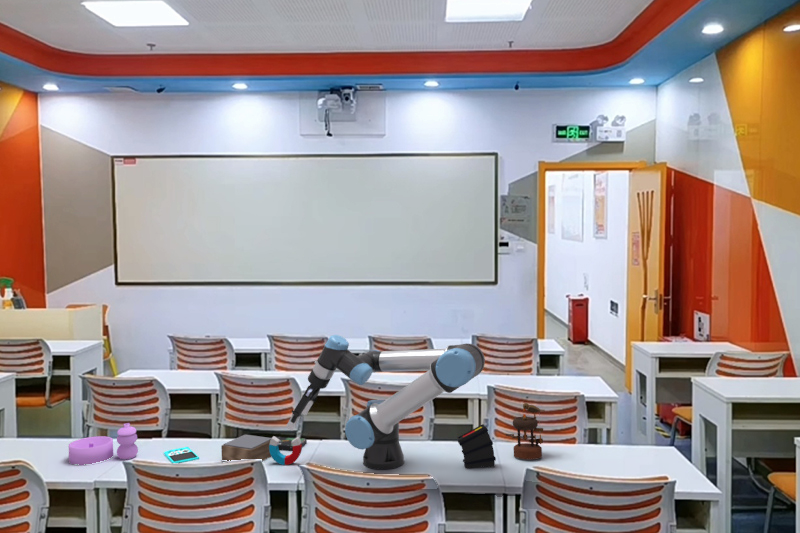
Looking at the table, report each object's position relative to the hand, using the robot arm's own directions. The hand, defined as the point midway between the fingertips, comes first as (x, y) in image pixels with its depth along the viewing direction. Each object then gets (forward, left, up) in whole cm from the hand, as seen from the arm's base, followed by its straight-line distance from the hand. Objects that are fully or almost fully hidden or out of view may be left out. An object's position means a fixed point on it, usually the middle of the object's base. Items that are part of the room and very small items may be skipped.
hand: (296, 420), depth 233 cm
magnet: (+4, +1, -16) cm, 17 cm away
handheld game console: (+47, +9, -17) cm, 51 cm away
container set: (+73, +23, -16) cm, 78 cm away
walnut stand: (+21, +1, -16) cm, 27 cm away
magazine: (-62, -23, -16) cm, 68 cm away
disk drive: (+16, -16, -17) cm, 28 cm away
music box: (-76, -40, -16) cm, 87 cm away
